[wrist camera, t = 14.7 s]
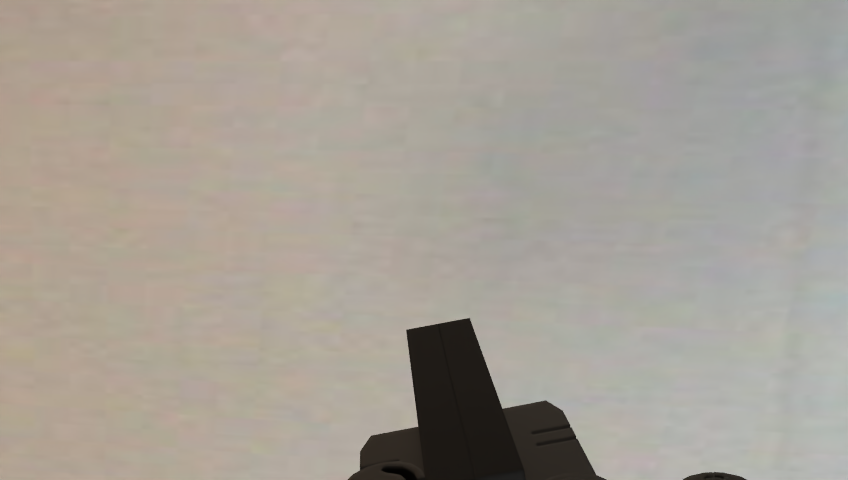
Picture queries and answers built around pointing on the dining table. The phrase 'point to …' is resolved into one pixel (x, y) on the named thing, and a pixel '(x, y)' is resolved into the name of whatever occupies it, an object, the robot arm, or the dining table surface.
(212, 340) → the dining table surface
